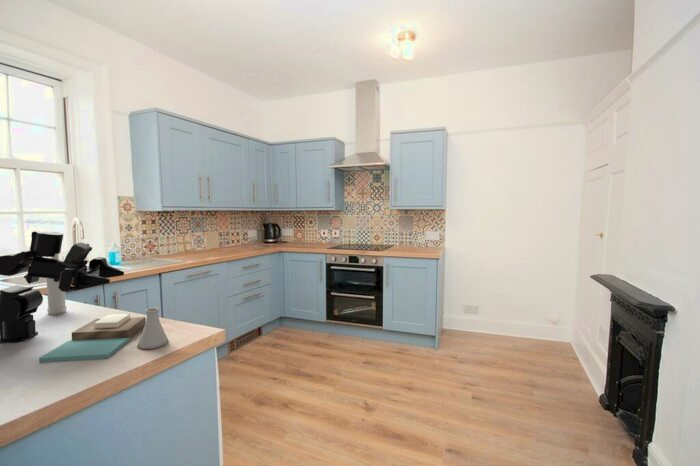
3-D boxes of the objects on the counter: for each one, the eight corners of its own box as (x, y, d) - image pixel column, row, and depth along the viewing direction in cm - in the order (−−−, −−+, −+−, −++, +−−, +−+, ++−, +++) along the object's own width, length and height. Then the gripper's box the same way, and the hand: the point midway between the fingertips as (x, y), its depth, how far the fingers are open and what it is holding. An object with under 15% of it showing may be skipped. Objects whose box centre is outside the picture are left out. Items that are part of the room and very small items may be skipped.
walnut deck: (71, 343, 92) (71, 332, 91) (96, 328, 103) (96, 318, 103) (127, 340, 94) (127, 330, 94) (145, 326, 106) (145, 316, 106)
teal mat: (39, 361, 80) (39, 358, 80) (68, 344, 91) (68, 340, 91) (108, 358, 83) (108, 354, 83) (129, 341, 94) (128, 337, 94)
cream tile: (94, 328, 95) (93, 323, 95) (108, 319, 103) (108, 314, 103) (117, 327, 96) (117, 322, 96) (130, 318, 104) (130, 313, 104)
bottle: (55, 310, 120) (52, 241, 119) (70, 310, 121) (67, 242, 119) (43, 314, 115) (40, 243, 114) (59, 314, 116) (56, 243, 114)
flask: (154, 351, 88) (153, 314, 87) (130, 348, 89) (130, 312, 88) (173, 341, 95) (173, 306, 94) (152, 338, 96) (151, 304, 95)
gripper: (37, 247, 86) (105, 257, 90) (78, 237, 104) (134, 246, 108) (31, 288, 87) (99, 296, 90) (73, 272, 105) (128, 279, 108)
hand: (117, 277), depth 99 cm, fingers open, 9 cm apart
